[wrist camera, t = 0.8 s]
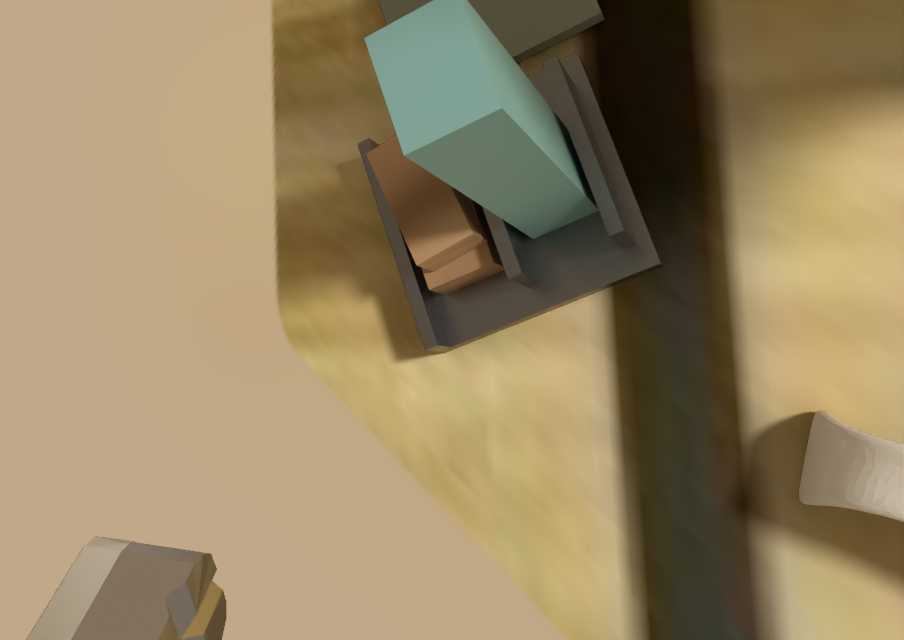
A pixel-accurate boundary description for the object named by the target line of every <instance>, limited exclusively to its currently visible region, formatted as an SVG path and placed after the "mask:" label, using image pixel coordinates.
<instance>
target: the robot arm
mask: <svg viewBox="0 0 904 640" xmlns="http://www.w3.org/2000/svg"><path fill="white" fill-rule="evenodd" d="M216 570H217V569H216V566H215V563H214V560H213V558H212V555H211V554H209V553H203V552H196V551H189V550H182V549H176V548H169V547H162V546H155V545H149V544H142V543H137V542H134V541H126V540H119V539H112V538H104V537H97V536H96V537H95V538H93V539H92V540H91V541H90V542H89V543H88V544H87V545H86V546H84V547H83V549H82V550H81V552H80V553H79V555H78V557H77V558H76V560H75V561H74V563H73V565H72V566H71V568H70V569H69V571H68V573H67V574H66V576H65V577H64V579H63V581H62V582H61V584H60V586H59V587H58V589H57V590H56V592H55V594H54V595H53V597H52V599H51V600H50V602H49V603H48V605H47V607H46V608H45V610H44V612H43V613H42V615H41V616H40V618H39V620H38V621H37V623H36V624H35V626H34V628H33V629H32V631H31V632H30V634H29V636H28V638H27V639H26V640H222V636H223V631H224V626H225V621H226V599H225V596H224V592H223V590H222V589H221V588H220V587H218V585H216V584H215V583H214V582H213V581H212V579H213V576H214V574H215V572H216Z"/></svg>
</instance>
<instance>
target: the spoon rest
mask: <svg viewBox="0 0 904 640" xmlns="http://www.w3.org/2000/svg"><path fill="white" fill-rule="evenodd" d="M799 499H800V501H801V503H804V504H807V505H816V506H834V507H841V508H848V509H853V510H858V511H863V512H867V513H872V514H876V515H880V516H884V517H888V518H891V519H895V520H898V521H901V522H904V443H900V442H896V441H891V440H887V439H883V438H880V437H876V436H873V435H870V434H867V433H864V432H862V431H859V430H856V429H854V428H851V427H849V426H847V425H845V424H843V423H841V422H840V421H838V420H837V419H835V418H834V417H832V416H831V415H830V414H828V413H826V412H825V411H822V410H821V411H817V412H816V413H815V415H814V417H813V421H812V425H811V430H810V434H809V439H808V444H807V449H806V454H805V460H804V465H803V470H802V476H801V482H800V487H799Z"/></svg>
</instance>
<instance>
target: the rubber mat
mask: <svg viewBox="0 0 904 640" xmlns="http://www.w3.org/2000/svg"><path fill="white" fill-rule="evenodd" d="M378 1H379V4H380V7H381V10H382V13H383V15H384V18H385V21H386V24H387V25H389V24H391V23H393V22H394V21H396V20H398V19H400V18H402V17H404V16H405V15H407V14H409V13H411V12H413V11H415V10H417V9H418V8H420V7H422V6H424V5H426V4H428V3H429V2H431V1H433V0H378ZM468 2H469V3H470V4H471V6H472V7H473V8H474V9H475V11H476V12H477V13H478V14H479V16H480V17H481V18H482V20H483V21H484V22H485V23H486V25H487V26H488V27H489V29H490V30H491V31H492V32H493V34H494V35H495V36H496V38H497V39H498V40H499V41H500V43H501V44H502V45H503V47H504V48H505V49H506V50H507V52H508V53H509V54H510V56H511V57H512V58H513V59H514V61H515V62H516V63H519V62H521V61H523V60H525V59H527V58H529V57H531V56H533V55H535V54H537V53H539V52H541V51H543V50H545V49H547V48H549V47H551V46H553V45H555V44H557V43H559V42H561V41H563V40H565V39H567V38H569V37H571V36H573V35H575V34H577V33H579V32H581V31H583V30H585V29H587V28H589V27H591V26H593V25H595V24H597V23H599V22H601V21H603V20H605V19H604V17H603V14H602V12H601V9H600V7H599V5H598V2H597V0H468Z"/></svg>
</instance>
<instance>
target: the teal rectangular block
mask: <svg viewBox="0 0 904 640" xmlns="http://www.w3.org/2000/svg"><path fill="white" fill-rule="evenodd" d="M364 40H365V43H366V46H367V49H368V52H369V55H370V57H371V60H372V63H373V66H374V69H375V72H376V75H377V78H378V81H379V84H380V87H381V90H382V93H383V96H384V99H385V102H386V105H387V108H388V110H389V113H390V116H391V119H392V122H393V125H394V128H395V131H396V134H397V137H398V140H399V143H400V146H401V149H402V152H403V155H404V156H405V157H407V158H408V159H410V160H411V161H413V162H414V163H416V164H418V165H419V166H421V167H422V168H424V169H425V170H427V171H428V172H430V173H432V174H433V175H435V176H436V177H438V178H439V179H441V180H442V181H444V182H446V183H447V184H449V185H450V186H452V187H453V188H455V189H456V190H458V191H460V192H461V193H463V194H464V195H466V196H467V197H469V198H470V199H472V200H474V201H475V202H477V203H478V204H480V205H481V206H483V207H484V208H486V209H488V210H489V211H491V212H492V213H494V214H495V215H497V216H498V217H500V218H502V219H503V220H505V221H506V222H508V223H509V224H511V225H512V226H514V227H515V228H517V229H519V230H520V231H522V232H523V233H525V234H526V235H528V236H529V237H531V238H533V239H534V238H537V237H539V236H541V235H544V234H546V233H548V232H551V231H553V230H555V229H557V228H560V227H562V226H564V225H567V224H569V223H571V222H574V221H576V220H578V219H581V218H583V217H585V216H588V215H590V214H592V213H595V212H597V211H599V209H598V206H597V204H596V201H595V198H594V196H593V193H592V191H591V188H590V185H589V183H588V180H587V178H586V175H585V172H584V170H583V167H582V165H581V162H580V159H579V157H578V154H577V152H576V149H575V146H574V144H573V141H572V139H571V136H570V133H569V131H568V129H567V127H566V126H565V125H564V123H563V122H562V121H561V120H560V118H559V117H558V116H557V115H556V113H555V112H554V111H553V109H552V108H551V107H550V106H549V104H548V103H547V102H546V100H545V99H544V98H543V97H542V95H541V94H540V93H539V91H538V90H537V89H536V88H535V86H534V85H533V84H532V82H531V81H530V80H529V79H528V77H527V76H526V75H525V73H524V72H523V71H522V70H521V68H520V67H519V66H518V65H517V63H516V62H515V61H514V59H513V58H512V57H511V56H510V54H509V53H508V52H507V50H506V49H505V48H504V47H503V45H502V44H501V43H500V41H499V40H498V39H497V38H496V36H495V35H494V34H493V32H492V31H491V30H490V29H489V27H488V26H487V25H486V23H485V22H484V21H483V20H482V18H481V17H480V16H479V14H478V13H477V12H476V11H475V9H474V8H473V7H472V6H471V4H470V3H469V2H468V0H433V1H431V2H429V3H428V4H426V5H424V6H422V7H420V8H418V9H417V10H415V11H413V12H411V13H409V14H407V15H405V16H404V17H402V18H400V19H398V20H396V21H394V22H393V23H391V24H389V25H387V26H385V27H383V28H382V29H380V30H378V31H376V32H374V33H372V34H370V35H369V36H367V37H365V38H364Z"/></svg>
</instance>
